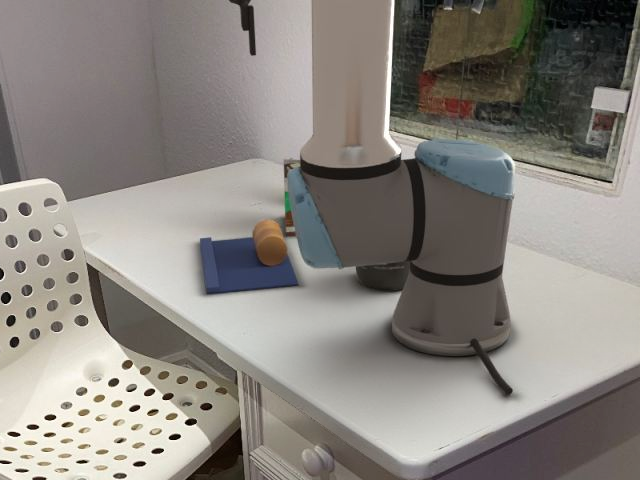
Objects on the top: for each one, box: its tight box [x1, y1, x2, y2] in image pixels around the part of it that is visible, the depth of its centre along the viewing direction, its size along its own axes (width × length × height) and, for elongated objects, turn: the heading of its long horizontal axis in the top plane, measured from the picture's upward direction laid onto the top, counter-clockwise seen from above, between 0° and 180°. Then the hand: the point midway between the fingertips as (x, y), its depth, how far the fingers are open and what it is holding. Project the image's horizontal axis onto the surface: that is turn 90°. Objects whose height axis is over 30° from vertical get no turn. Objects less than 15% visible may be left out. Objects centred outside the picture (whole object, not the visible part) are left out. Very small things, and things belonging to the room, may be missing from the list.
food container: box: [283, 158, 300, 237], centre depth 141 cm, size 12×6×10 cm, turn 179°
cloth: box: [199, 236, 300, 295], centre depth 132 cm, size 22×14×1 cm, turn 6°
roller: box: [251, 219, 288, 266], centre depth 131 cm, size 8×5×5 cm, turn 6°
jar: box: [354, 261, 410, 292], centre depth 121 cm, size 10×10×8 cm
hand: (295, 51), depth 130 cm, fingers open, 13 cm apart
